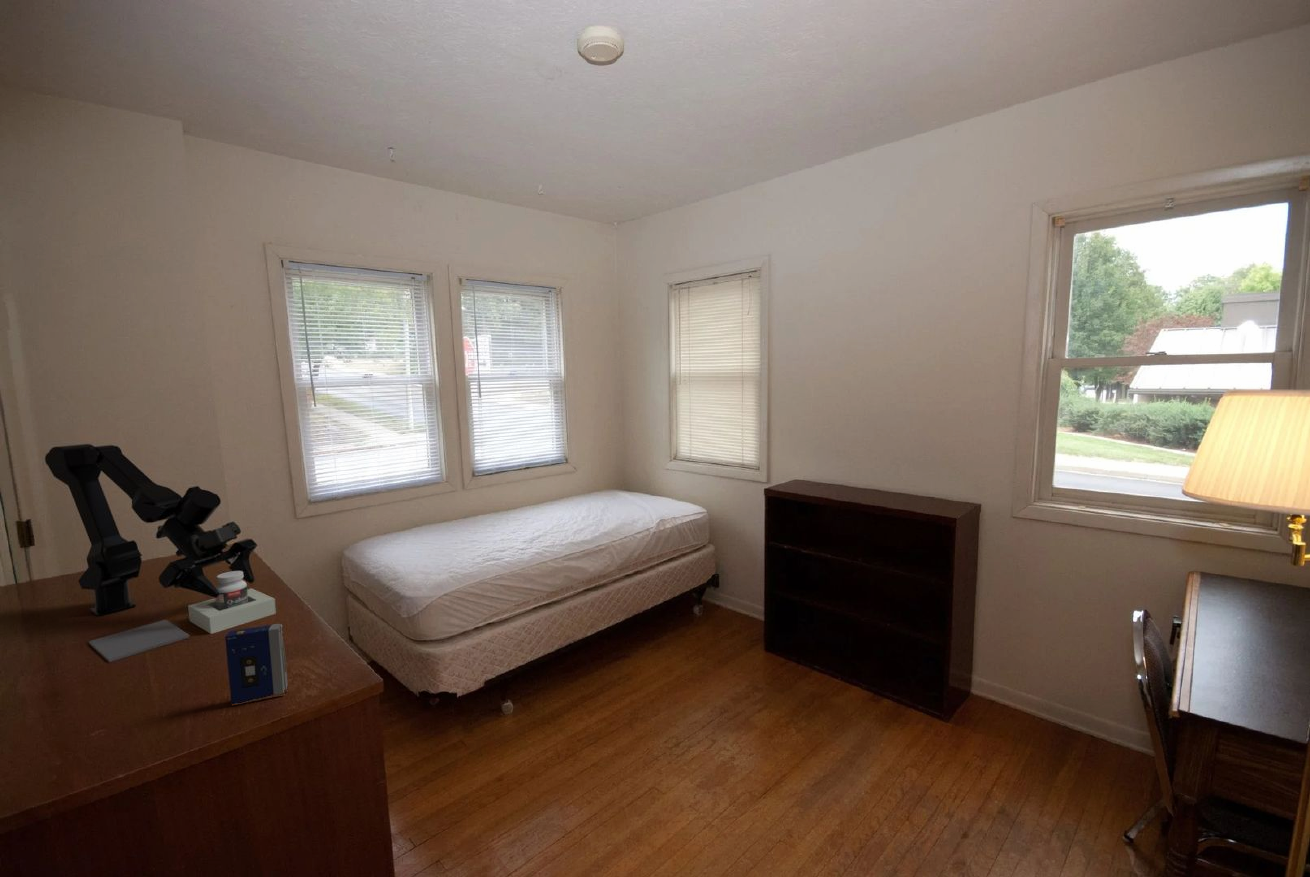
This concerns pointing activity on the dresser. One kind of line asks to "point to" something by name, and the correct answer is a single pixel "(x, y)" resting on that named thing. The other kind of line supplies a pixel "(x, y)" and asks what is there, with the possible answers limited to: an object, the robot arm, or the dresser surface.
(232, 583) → the pill bottle
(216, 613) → the socket block
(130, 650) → the charcoal mat
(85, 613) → the dresser surface
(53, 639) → the dresser surface
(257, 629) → the cassette player
